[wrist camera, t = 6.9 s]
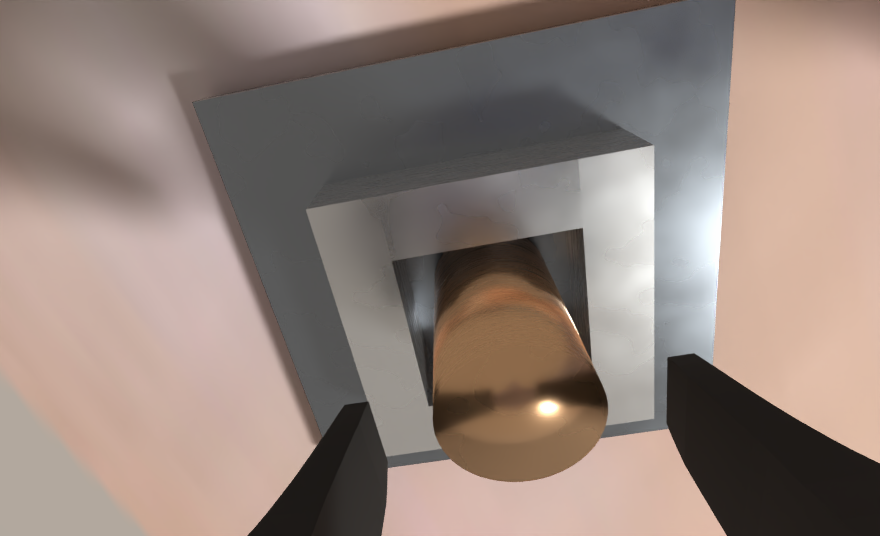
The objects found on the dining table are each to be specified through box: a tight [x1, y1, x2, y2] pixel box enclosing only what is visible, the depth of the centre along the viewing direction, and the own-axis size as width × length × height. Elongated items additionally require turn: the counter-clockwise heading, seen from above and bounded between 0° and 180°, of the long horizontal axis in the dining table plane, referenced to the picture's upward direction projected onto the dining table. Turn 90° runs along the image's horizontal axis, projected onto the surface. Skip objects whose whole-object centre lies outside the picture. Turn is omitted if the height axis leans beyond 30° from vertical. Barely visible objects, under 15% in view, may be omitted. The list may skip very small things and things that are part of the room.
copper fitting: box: [433, 238, 608, 482], centre depth 14 cm, size 4×4×7 cm
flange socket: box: [192, 0, 736, 468], centre depth 17 cm, size 16×16×4 cm
